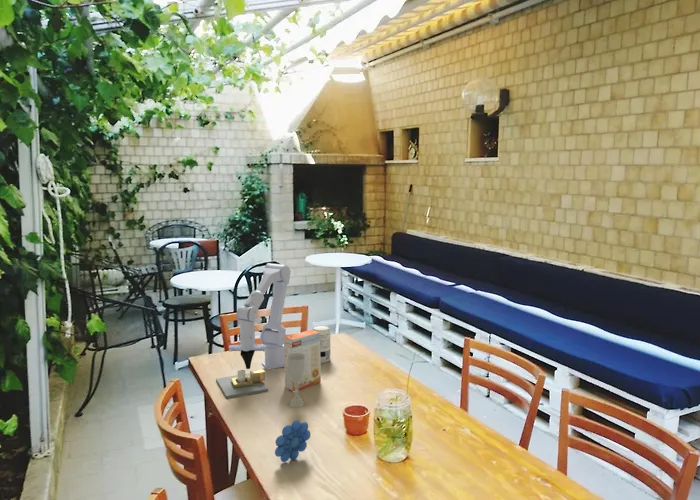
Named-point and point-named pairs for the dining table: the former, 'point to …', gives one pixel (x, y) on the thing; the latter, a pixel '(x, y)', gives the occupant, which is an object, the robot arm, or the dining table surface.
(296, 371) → the chalice
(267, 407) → the dining table surface
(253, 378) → the yellow frame with handle
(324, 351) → the supplement can
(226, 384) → the post board
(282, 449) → the grapes
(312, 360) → the cracker box
